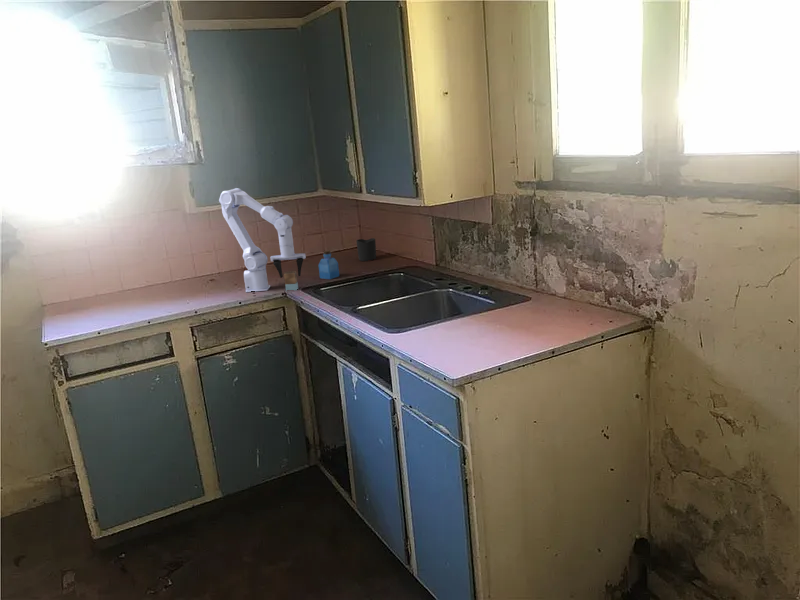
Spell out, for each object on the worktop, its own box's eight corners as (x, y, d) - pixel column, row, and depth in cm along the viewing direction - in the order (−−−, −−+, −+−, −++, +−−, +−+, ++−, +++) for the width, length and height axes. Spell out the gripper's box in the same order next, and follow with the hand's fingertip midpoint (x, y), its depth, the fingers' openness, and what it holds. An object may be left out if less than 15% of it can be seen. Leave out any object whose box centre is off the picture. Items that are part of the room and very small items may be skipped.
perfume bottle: (330, 279, 291) (327, 252, 287) (320, 278, 294) (317, 252, 291) (339, 276, 295) (336, 250, 292) (329, 275, 299) (326, 249, 296)
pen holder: (368, 256, 333) (366, 237, 330) (380, 258, 326) (379, 238, 324) (354, 260, 326) (352, 240, 324) (367, 262, 320) (365, 242, 317)
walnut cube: (285, 284, 275) (283, 274, 274) (286, 282, 280) (285, 271, 279) (295, 283, 275) (294, 273, 274) (297, 281, 280) (296, 271, 278)
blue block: (286, 291, 275) (285, 285, 275) (286, 289, 280) (285, 282, 279) (298, 290, 276) (297, 283, 275) (298, 287, 281) (297, 281, 280)
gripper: (305, 241, 277) (308, 272, 280) (270, 244, 277) (275, 275, 281) (302, 244, 270) (306, 276, 274) (267, 247, 270) (272, 279, 274)
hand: (290, 276), depth 277 cm, fingers open, 7 cm apart
